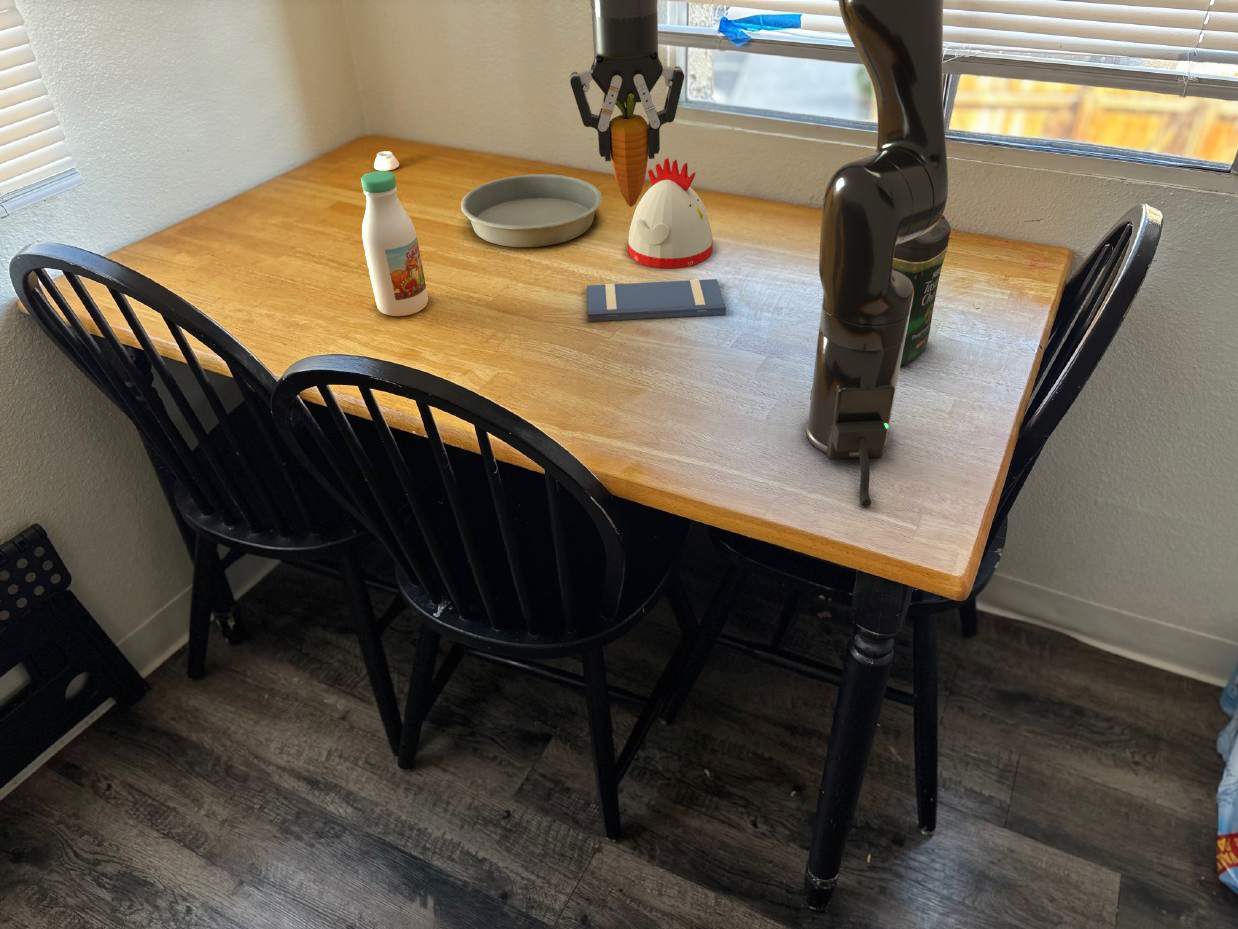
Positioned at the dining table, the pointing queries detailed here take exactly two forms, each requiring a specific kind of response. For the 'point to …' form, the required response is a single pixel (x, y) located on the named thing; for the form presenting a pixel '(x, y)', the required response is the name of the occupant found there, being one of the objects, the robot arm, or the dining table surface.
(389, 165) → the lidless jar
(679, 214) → the kitchen timer
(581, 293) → the dining table surface
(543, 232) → the cake pan
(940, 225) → the coffee jar
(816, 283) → the dining table surface
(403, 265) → the milk bottle
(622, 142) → the carrot
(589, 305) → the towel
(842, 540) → the dining table surface
